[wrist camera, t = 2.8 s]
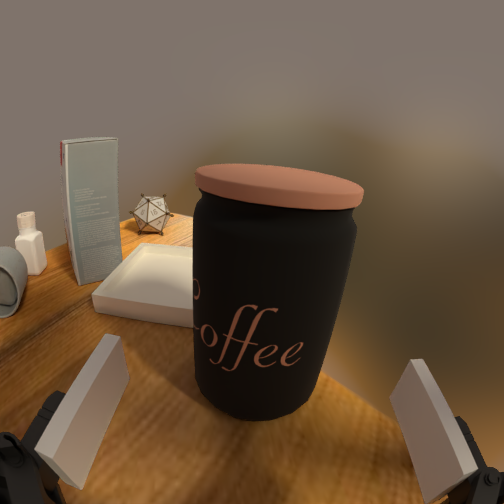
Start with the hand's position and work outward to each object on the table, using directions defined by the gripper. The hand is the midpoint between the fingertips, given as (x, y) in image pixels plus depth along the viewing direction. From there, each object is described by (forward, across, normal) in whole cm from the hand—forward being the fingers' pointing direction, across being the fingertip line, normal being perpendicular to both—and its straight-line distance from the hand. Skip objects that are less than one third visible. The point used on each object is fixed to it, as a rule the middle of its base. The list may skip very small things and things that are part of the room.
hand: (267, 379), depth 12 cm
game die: (+46, -22, -11) cm, 52 cm away
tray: (+25, -11, -11) cm, 30 cm away
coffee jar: (+10, 0, -11) cm, 15 cm away
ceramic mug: (+13, -34, -11) cm, 39 cm away
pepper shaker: (+24, -36, -11) cm, 44 cm away
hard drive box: (+30, -27, -11) cm, 42 cm away
